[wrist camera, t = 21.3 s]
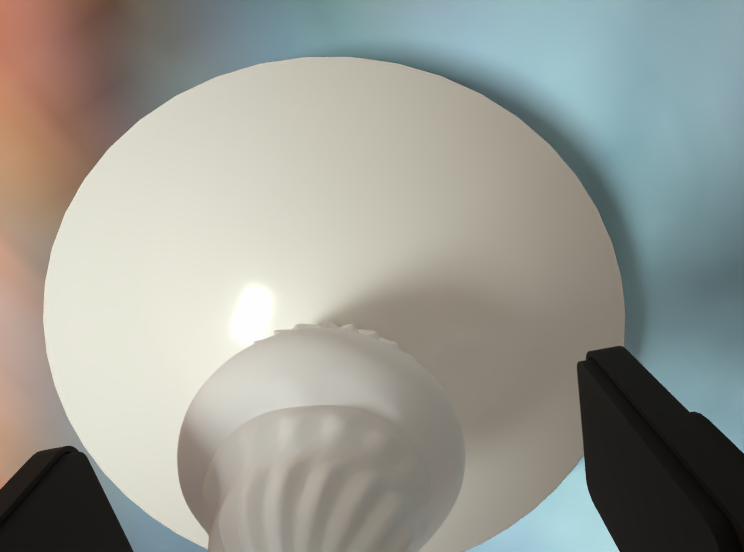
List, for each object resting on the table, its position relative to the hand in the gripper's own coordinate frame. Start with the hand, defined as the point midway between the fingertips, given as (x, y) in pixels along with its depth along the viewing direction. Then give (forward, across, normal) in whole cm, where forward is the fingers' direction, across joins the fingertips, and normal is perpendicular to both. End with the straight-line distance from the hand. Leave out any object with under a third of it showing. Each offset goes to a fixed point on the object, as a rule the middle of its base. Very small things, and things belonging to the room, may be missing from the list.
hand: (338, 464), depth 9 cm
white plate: (+6, 0, +1) cm, 6 cm away
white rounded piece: (+5, +1, +1) cm, 5 cm away
